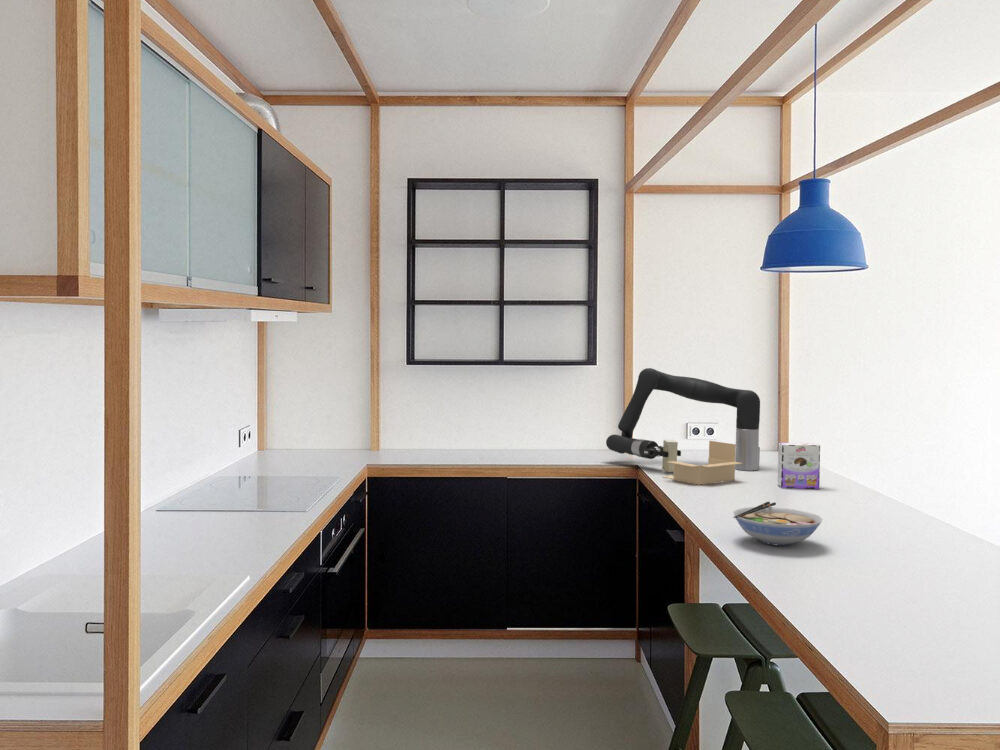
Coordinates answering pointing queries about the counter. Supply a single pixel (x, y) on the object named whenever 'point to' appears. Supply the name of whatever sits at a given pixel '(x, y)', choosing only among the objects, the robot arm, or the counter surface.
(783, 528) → the ramen bowl
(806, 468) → the candy box
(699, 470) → the carton
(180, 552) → the counter surface
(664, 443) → the skincare box
